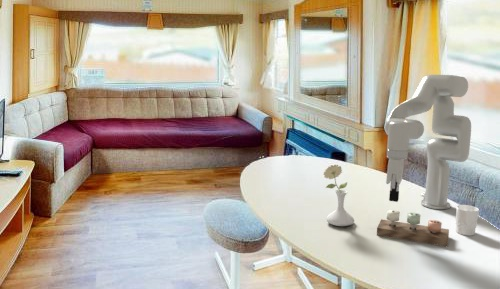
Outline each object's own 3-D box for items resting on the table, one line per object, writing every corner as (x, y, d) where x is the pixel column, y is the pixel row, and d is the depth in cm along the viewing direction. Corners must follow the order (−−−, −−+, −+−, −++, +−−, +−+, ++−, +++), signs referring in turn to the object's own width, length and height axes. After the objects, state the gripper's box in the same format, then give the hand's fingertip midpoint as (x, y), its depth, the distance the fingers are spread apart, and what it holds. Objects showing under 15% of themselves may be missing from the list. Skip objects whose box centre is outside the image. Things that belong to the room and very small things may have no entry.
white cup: (464, 237, 166) (466, 212, 164) (449, 229, 173) (451, 205, 172) (481, 235, 168) (483, 210, 166) (466, 227, 176) (468, 204, 174)
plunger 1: (385, 228, 169) (386, 211, 167) (387, 224, 173) (388, 208, 172) (397, 230, 167) (398, 213, 166) (399, 226, 171) (400, 210, 170)
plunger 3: (426, 239, 163) (427, 222, 162) (427, 234, 167) (428, 218, 166) (439, 241, 161) (441, 224, 160) (440, 237, 165) (441, 220, 164)
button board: (376, 235, 168) (377, 227, 167) (380, 226, 177) (381, 219, 176) (447, 246, 157) (448, 238, 157) (448, 236, 166) (448, 229, 166)
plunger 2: (405, 231, 166) (406, 214, 164) (407, 227, 170) (408, 211, 168) (418, 233, 164) (419, 216, 162) (419, 229, 168) (420, 212, 166)
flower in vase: (352, 219, 185) (354, 161, 180) (355, 229, 174) (358, 168, 169) (321, 218, 186) (323, 161, 181) (322, 228, 175) (324, 167, 170)
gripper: (389, 149, 172) (386, 194, 176) (383, 156, 159) (380, 204, 162) (409, 151, 169) (406, 197, 173) (405, 158, 156) (401, 207, 159)
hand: (393, 200), depth 167 cm, fingers closed
